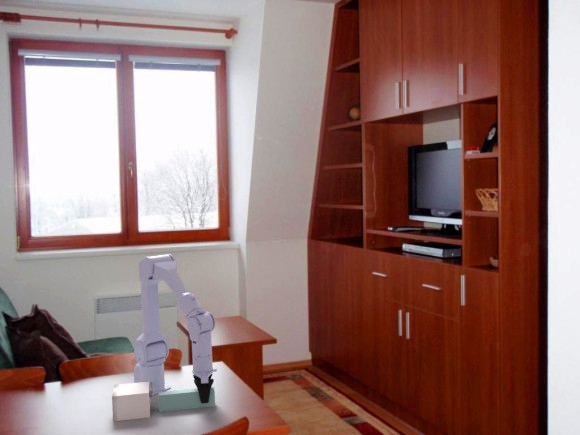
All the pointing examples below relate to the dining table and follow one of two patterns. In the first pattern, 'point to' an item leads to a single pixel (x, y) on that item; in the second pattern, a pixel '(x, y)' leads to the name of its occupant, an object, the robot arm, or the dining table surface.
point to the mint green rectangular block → (183, 400)
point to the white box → (132, 401)
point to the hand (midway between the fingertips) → (204, 400)
